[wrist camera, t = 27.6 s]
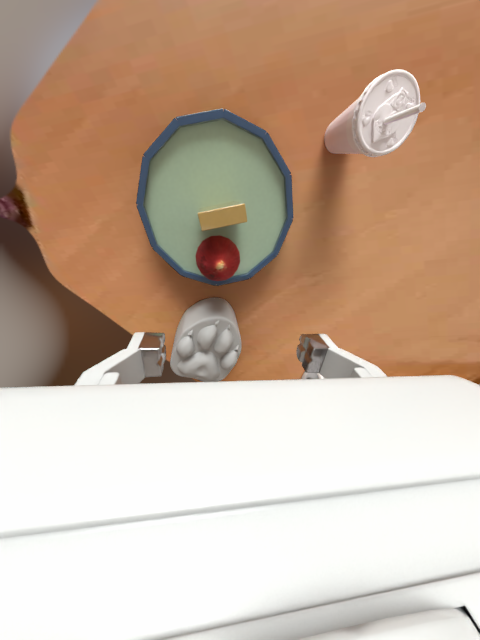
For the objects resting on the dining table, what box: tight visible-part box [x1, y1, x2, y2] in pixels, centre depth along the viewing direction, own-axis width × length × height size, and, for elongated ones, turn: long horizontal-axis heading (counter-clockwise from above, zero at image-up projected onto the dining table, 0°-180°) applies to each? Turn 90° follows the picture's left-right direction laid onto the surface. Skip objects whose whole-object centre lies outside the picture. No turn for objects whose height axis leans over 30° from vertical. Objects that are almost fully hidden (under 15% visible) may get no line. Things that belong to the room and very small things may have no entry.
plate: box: [136, 109, 293, 286], centre depth 27 cm, size 20×20×9 cm
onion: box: [196, 235, 240, 281], centre depth 29 cm, size 6×6×8 cm
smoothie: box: [324, 69, 426, 157], centre depth 24 cm, size 6×6×14 cm
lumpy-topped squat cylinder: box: [170, 297, 241, 382], centre depth 38 cm, size 10×13×9 cm
